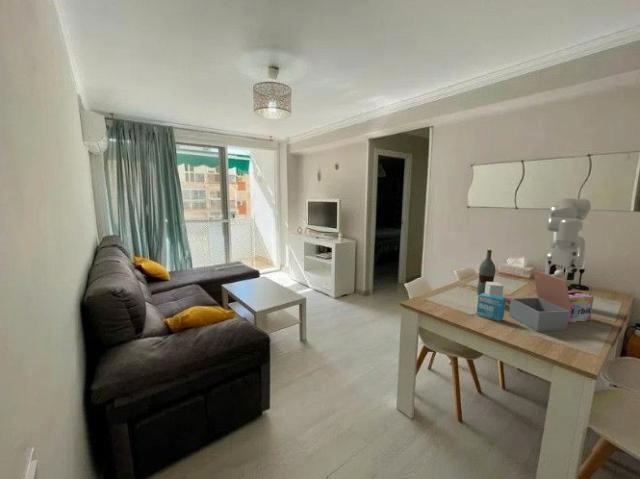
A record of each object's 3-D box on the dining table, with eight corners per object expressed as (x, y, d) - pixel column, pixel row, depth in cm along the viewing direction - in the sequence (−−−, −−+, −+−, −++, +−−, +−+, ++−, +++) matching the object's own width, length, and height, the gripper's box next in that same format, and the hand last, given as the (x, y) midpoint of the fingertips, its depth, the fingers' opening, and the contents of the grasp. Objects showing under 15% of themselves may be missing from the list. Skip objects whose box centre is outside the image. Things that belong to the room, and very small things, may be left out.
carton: (535, 314, 158) (537, 297, 156) (566, 330, 140) (569, 311, 138) (508, 315, 156) (511, 298, 154) (536, 331, 138) (539, 312, 137)
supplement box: (501, 306, 169) (504, 286, 166) (487, 305, 170) (490, 285, 168) (496, 301, 176) (498, 282, 174) (483, 300, 177) (485, 281, 175)
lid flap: (537, 297, 156) (551, 292, 156) (570, 311, 138) (585, 305, 138) (532, 269, 153) (546, 264, 153) (565, 279, 135) (580, 274, 135)
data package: (476, 315, 156) (478, 294, 154) (478, 312, 159) (480, 292, 157) (501, 322, 148) (504, 300, 146) (503, 319, 151) (506, 298, 149)
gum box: (577, 314, 159) (581, 291, 156) (592, 321, 151) (597, 296, 149) (540, 317, 154) (544, 293, 152) (554, 324, 147) (558, 299, 145)
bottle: (494, 298, 181) (499, 252, 176) (478, 296, 184) (483, 251, 179) (490, 293, 190) (495, 249, 185) (475, 291, 193) (480, 248, 188)
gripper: (590, 247, 134) (584, 282, 137) (557, 241, 151) (552, 272, 154) (576, 247, 133) (570, 282, 136) (544, 241, 150) (539, 272, 153)
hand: (560, 277), depth 145 cm, fingers open, 9 cm apart
